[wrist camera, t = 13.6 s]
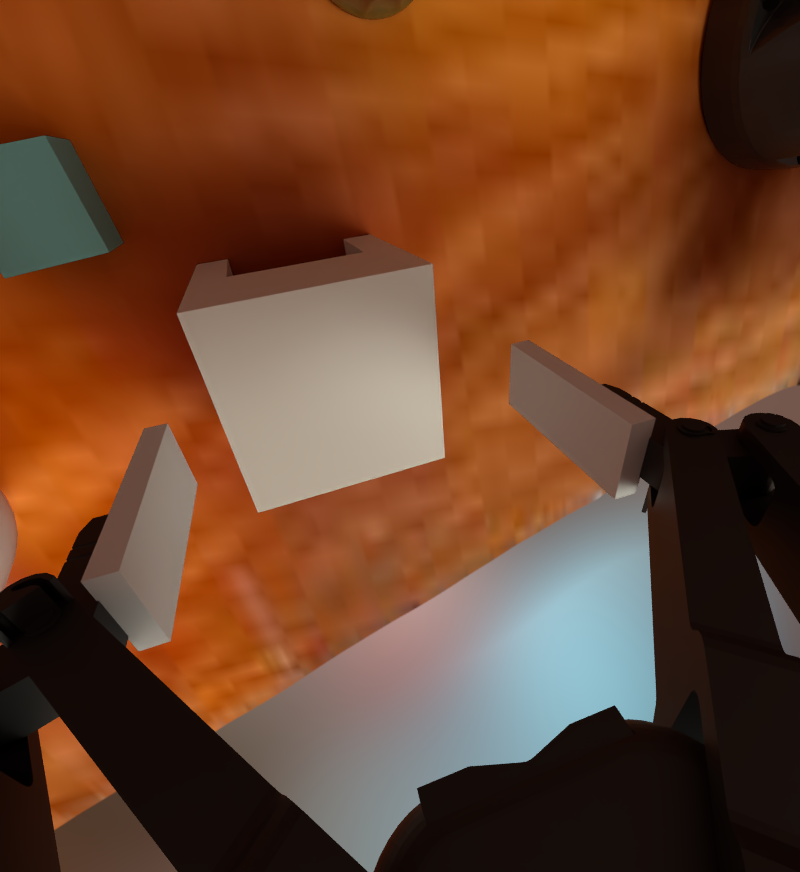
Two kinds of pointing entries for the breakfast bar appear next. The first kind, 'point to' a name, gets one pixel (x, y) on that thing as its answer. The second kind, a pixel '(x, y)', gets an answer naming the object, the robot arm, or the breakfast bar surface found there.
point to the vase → (372, 7)
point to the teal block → (49, 208)
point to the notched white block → (320, 367)
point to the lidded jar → (6, 539)
